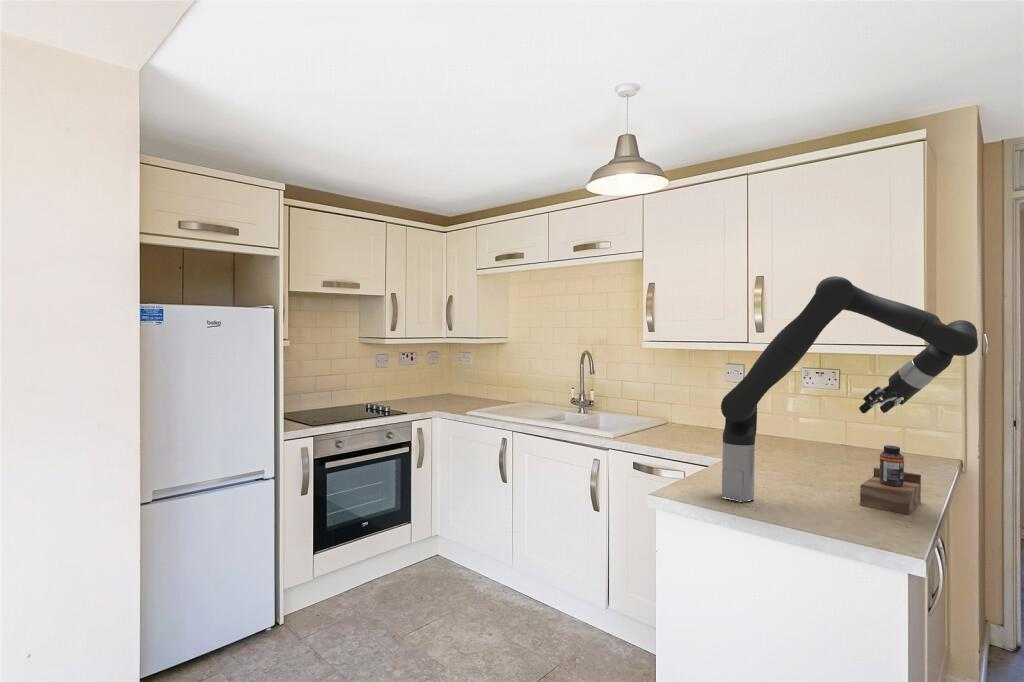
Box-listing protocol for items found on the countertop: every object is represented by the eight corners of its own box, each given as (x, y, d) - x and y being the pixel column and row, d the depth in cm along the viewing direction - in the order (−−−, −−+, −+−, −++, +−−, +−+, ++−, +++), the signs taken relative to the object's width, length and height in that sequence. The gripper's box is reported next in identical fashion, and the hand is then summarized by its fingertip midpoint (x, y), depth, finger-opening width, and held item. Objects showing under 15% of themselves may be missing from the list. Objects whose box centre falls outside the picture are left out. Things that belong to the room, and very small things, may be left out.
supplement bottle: (880, 480, 169) (881, 443, 169) (904, 483, 166) (905, 446, 165) (878, 484, 165) (878, 446, 165) (902, 488, 161) (903, 449, 161)
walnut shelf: (908, 514, 156) (909, 484, 156) (860, 505, 164) (860, 476, 164) (920, 502, 167) (921, 474, 167) (874, 494, 175) (874, 467, 175)
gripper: (921, 367, 161) (881, 400, 172) (885, 366, 156) (846, 400, 167) (939, 387, 156) (896, 420, 167) (902, 387, 151) (861, 421, 163)
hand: (871, 410), depth 167 cm, fingers open, 8 cm apart
